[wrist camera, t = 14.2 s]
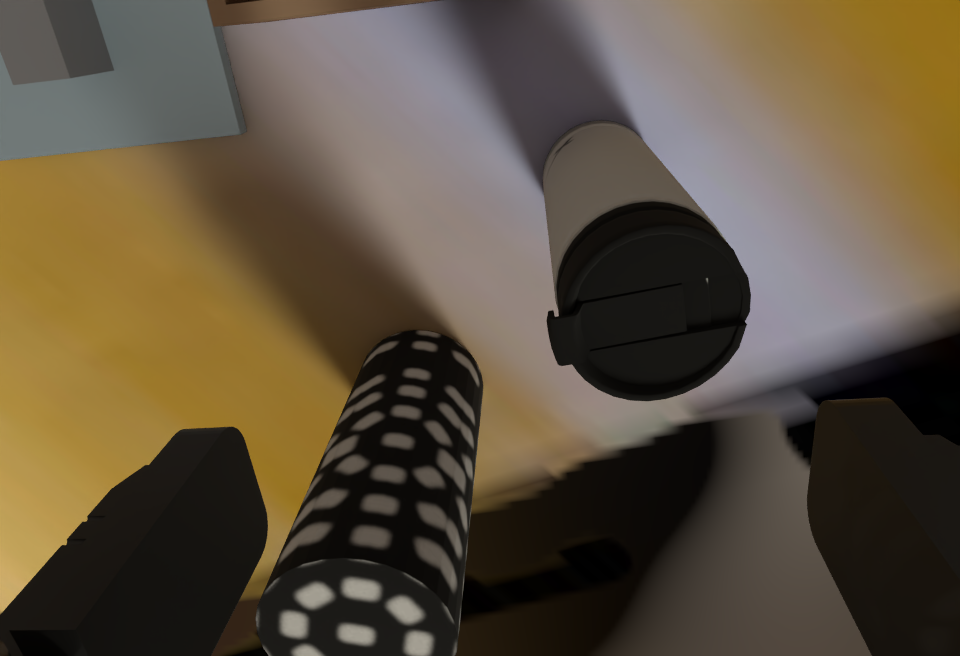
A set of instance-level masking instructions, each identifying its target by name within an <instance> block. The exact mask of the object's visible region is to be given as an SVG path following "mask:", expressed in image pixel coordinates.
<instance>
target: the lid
mask: <svg viewBox="0 0 960 656" xmlns="http://www.w3.org/2000/svg"><path fill="white" fill-rule="evenodd" d="M245 132H247V129H246V125H245V121H244V117H243V113H242V109H241V105H240V101H239V97H238V93H237V89H236V85H235V82H234V78H233V74H232V70H231V66H230V62H229V58H228V54H227V50H226V46H225V42H224V38H223V34H222V30H221V26H217V27H214V26H213V22H212V18H211V15H210V11H209V7H208V3H207V0H0V161H2V160H11V159H20V158H29V157H39V156H48V155H57V154H66V153H75V152H85V151H94V150H103V149H112V148H121V147H130V146H140V145H149V144H158V143H167V142H176V141H186V140H195V139H204V138H213V137H222V136H231V135H241V134H243V133H245Z"/></svg>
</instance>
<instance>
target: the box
mask: <svg viewBox="0 0 960 656" xmlns="http://www.w3.org/2000/svg"><path fill="white" fill-rule="evenodd" d="M432 1H440V0H207V3H208V7H209V11H210V15H211V18H212V22H213V26H214V27H217V26H228V25H239V24H250V23H261V22H270V21H279V20H287V19H295V18H303V17H311V16H319V15H327V14H335V13H343V12H351V11H359V10H368V9H376V8H384V7H392V6H400V5H408V4H416V3H424V2H432Z"/></svg>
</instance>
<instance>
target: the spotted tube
mask: <svg viewBox="0 0 960 656" xmlns="http://www.w3.org/2000/svg"><path fill="white" fill-rule="evenodd" d="M482 396H483V381H482V375H481V372H480V370H479V367H478V365H477V363H476V362H475V360H474V358H473V357H472V355H471V354H470V353H469V352H468V351H467V350H466V349H465V348H464V347H463V346H461V345H460V344H459V343H457V342H456V341H454V340H453V339H451V338H448V337H446V336H444V335H442V334H438V333H434V332H430V331H421V330H413V331H404V332H401V333H397V334H394V335H391V336H389V337H388V338H386V339H384V340H382V341H381V342H380V343H378V344H377V345H376V346H375V347H374V348H373V349H372V350H371V351H370V353H369V354H368V355H367V357H366V359H365V361H364V363H363V365H362V368H361V370H360V372H359V374H358V377H357V379H356V381H355V384H354V386H353V388H352V391H351V393H350V395H349V397H348V400H347V402H346V404H345V407H344V409H343V411H342V413H341V416H340V418H339V420H338V423H337V425H336V427H335V429H334V432H333V434H332V436H331V439H330V441H329V443H328V445H327V448H326V450H325V452H324V455H323V457H322V459H321V462H320V464H319V466H318V468H317V471H316V473H315V475H314V478H313V480H312V482H311V484H310V487H309V489H308V491H307V494H306V496H305V498H304V500H303V503H302V505H301V507H300V510H299V512H298V514H297V517H296V519H295V521H294V523H293V526H292V528H291V530H290V533H289V535H288V537H287V539H286V542H285V544H284V546H283V549H282V551H281V553H280V555H279V558H278V560H277V562H276V565H275V567H274V569H273V571H272V574H271V576H270V578H269V581H268V583H267V585H266V588H265V590H264V592H263V594H262V597H261V599H260V601H259V604H258V607H257V614H256V626H257V633H258V636H259V638H260V641H261V644H262V646H263V648H264V649H265V651H266V652H267V654H268V655H269V656H455V654H456V651H457V642H458V633H459V624H460V614H461V604H462V594H463V584H464V574H465V564H466V554H467V544H468V535H469V525H470V515H471V505H472V495H473V485H474V475H475V465H476V455H477V445H478V436H479V426H480V416H481V406H482Z"/></svg>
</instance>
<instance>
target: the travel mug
mask: <svg viewBox="0 0 960 656" xmlns="http://www.w3.org/2000/svg"><path fill="white" fill-rule="evenodd" d="M543 190H544V199H545V208H546V217H547V226H548V235H549V244H550V254H551V263H552V272H553V281H554V290H555V299H556V304H557V307H558V311H559V316H558V317H555V316H554V311H553V310H552V311H548V316H547V327H548V334H549V338H550V343H551V347H552V350H553V353H554V356H555V358H556V361H557V363H558V365H560V366H564V365H571V364H572V365H573V366H574V368H575V369H576V371H577V372H578V373H579V374H580V375H581V376H582V377H583V378H584V379H585V380H586V381H587V382H588V383H590V384H591V385H593V386H594V387H595V388H597V389H598V390H600V391H603V392H605V393H607V394H609V395H612V396H614V397H618V398H623V399H627V400H634V401H653V400H661V399H667V398H670V397H674V396H677V395H680V394H684V393H686V392H688V391H690V390H692V389H694V388H696V387H698V386H700V385H701V384H703V383H704V382H706V381H707V380H709V379H710V378H712V377H713V376H714V375H716V374H717V373H718V372H719V371H720V370H721V369H722V368H723V367H724V366H725V365H726V364H727V363H728V362H729V361H730V359H731V358H732V356H733V355H734V354H735V352H736V351H737V350H738V348H739V346H740V343H741V340H742V337H743V334H744V331H745V328H746V325H747V324H746V323H745V320H746V318H747V316H748V314H749V312H750V299H751V293H750V287H749V280H748V277H747V275H746V273H745V271H744V270H743V268H742V266H741V264H740V262H739V260H738V258H737V256H736V254H735V252H734V250H733V249H732V248H731V247H730V245H729V244H728V243H727V242H726V240H725V238H724V237H723V236H722V234H721V233H720V231H719V230H718V229H717V227H716V226H715V225H714V223H713V222H711V220H710V219H709V218H708V216H707V215H706V214H705V213H704V212H703V211H702V209H701V208H700V207H699V206H698V205H697V203H696V202H695V201H694V200H693V199H692V198H691V196H690V195H689V194H688V193H687V192H686V191H685V189H684V188H683V187H682V186H681V185H680V183H679V182H678V181H677V180H676V179H675V178H674V176H673V175H672V174H671V173H670V172H669V170H668V169H667V168H666V167H665V166H664V165H663V163H662V162H661V161H660V160H659V159H658V158H657V156H656V155H655V154H654V153H653V152H652V150H651V149H650V148H649V147H648V146H647V145H646V143H645V142H644V141H643V140H642V139H641V137H639V136H638V135H637V134H636V133H635V132H634V131H633V130H631V129H629V128H628V127H626V126H624V125H622V124H619V123H616V122H613V121H603V120H599V121H590V122H587V123H583V124H580V125H578V126H576V127H574V128H572V129H570V130H569V131H567V132H566V133H565V134H564V135H562V136H561V137H560V138H559V139H558V140H557V142H556V143H555V144H554V145H553V147H552V148H551V150H550V152H549V154H548V155H547V158H546V161H545V164H544V169H543Z"/></svg>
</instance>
